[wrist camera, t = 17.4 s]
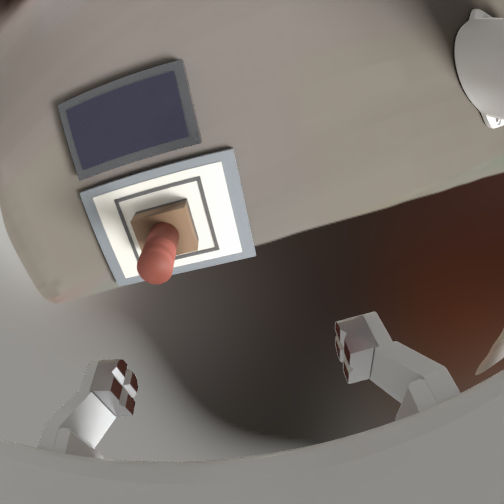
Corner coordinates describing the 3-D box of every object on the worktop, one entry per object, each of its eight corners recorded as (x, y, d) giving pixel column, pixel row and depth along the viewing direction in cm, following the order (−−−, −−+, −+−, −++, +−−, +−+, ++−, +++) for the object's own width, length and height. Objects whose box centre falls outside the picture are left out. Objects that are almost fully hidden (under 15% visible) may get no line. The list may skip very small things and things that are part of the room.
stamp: (186, 198, 32) (178, 235, 24) (198, 238, 35) (195, 284, 27) (136, 211, 32) (113, 251, 24) (150, 250, 35) (134, 297, 27)
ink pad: (183, 61, 26) (181, 58, 24) (201, 140, 30) (201, 143, 29) (64, 104, 26) (55, 105, 24) (84, 176, 30) (78, 181, 28)
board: (232, 147, 31) (233, 149, 30) (255, 252, 38) (256, 256, 37) (81, 191, 31) (78, 193, 30) (120, 283, 37) (118, 287, 37)
